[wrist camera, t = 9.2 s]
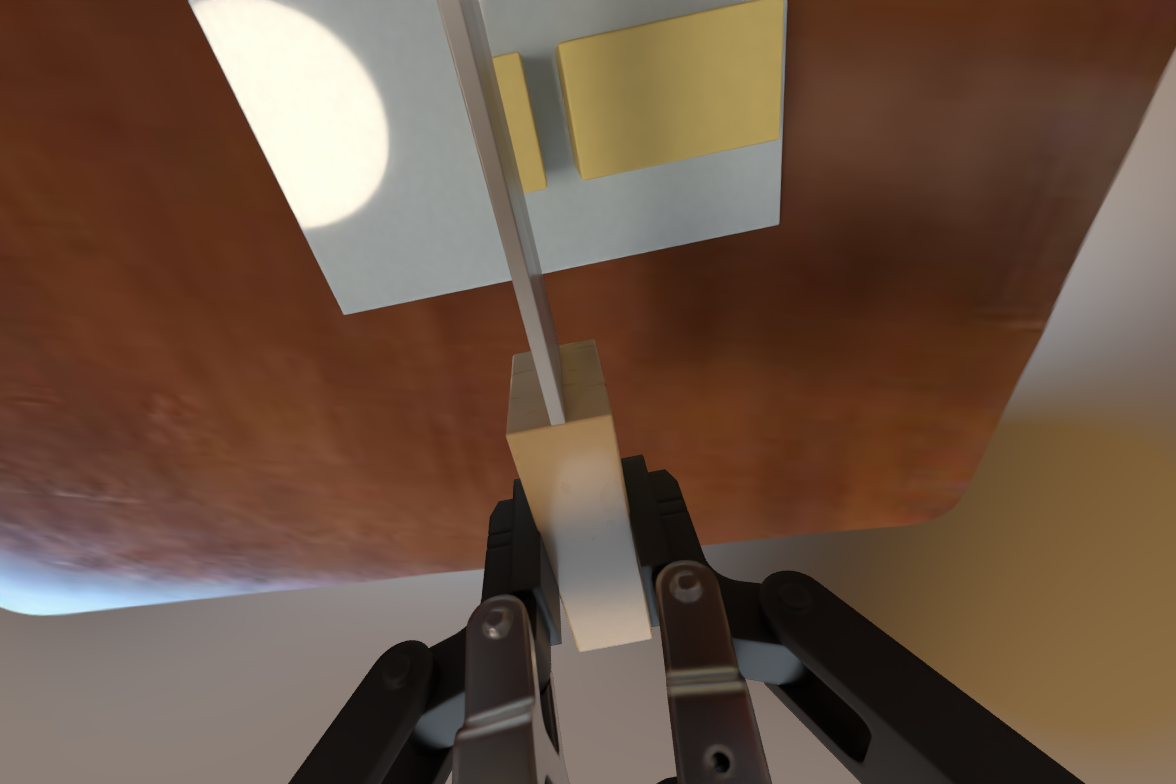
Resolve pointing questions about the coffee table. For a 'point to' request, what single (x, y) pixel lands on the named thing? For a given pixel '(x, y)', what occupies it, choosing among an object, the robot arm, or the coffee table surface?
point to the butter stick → (673, 88)
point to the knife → (553, 391)
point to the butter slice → (520, 121)
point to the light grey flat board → (454, 144)
